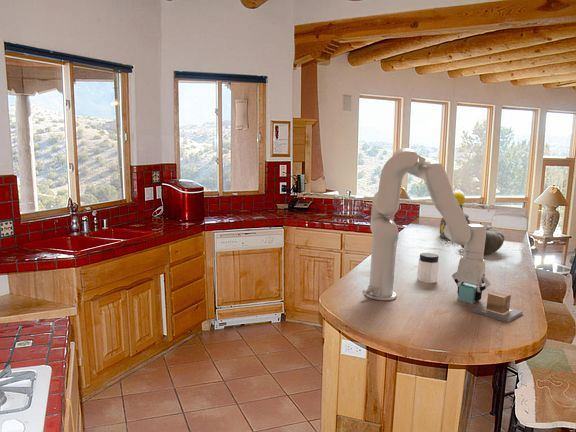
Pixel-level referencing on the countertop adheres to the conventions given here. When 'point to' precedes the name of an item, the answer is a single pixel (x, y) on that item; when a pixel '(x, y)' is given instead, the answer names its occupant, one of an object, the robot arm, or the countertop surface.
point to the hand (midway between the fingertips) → (468, 297)
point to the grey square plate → (504, 316)
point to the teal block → (467, 293)
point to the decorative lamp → (461, 201)
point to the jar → (428, 268)
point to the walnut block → (498, 301)
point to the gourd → (492, 240)
